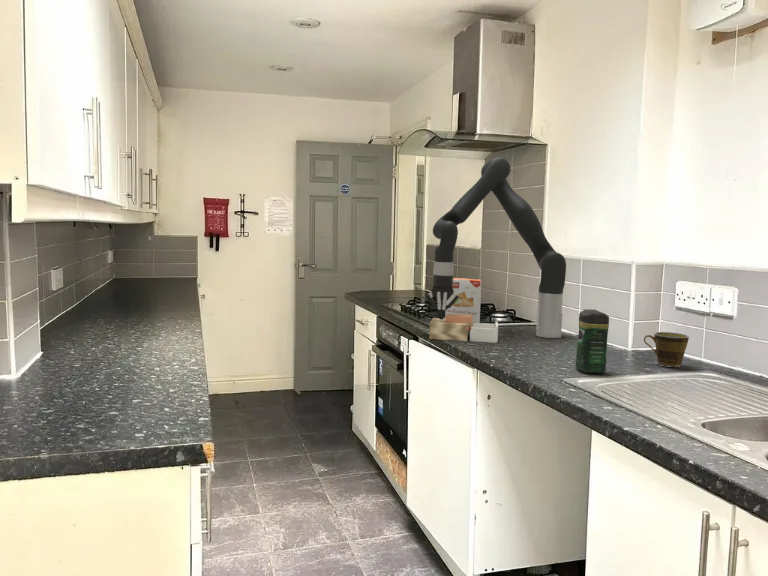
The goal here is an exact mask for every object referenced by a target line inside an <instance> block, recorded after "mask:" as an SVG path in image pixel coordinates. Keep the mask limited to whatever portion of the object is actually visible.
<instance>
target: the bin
mask: <svg viewBox="0 0 768 576" xmlns="http://www.w3.org/2000/svg"><path fill="white" fill-rule="evenodd" d="M498 335H499V322H498V321H495V323H485V322H484V323H481V322H480V323H473V327H471V331H469V342H474V343H475V342H478V343H479V342H480V343H491V344H492V343H493V344H496V343H498V341H499V340H498V339H499V338H498Z"/></svg>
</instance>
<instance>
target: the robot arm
mask: <svg viewBox="0 0 768 576" xmlns="http://www.w3.org/2000/svg"><path fill="white" fill-rule="evenodd" d="M510 172H511V165H510V162H509V160H507V159H506V158H504V157H500V156H499V157H494V158H492V159H490V160H489V161H487V162H486V163H485V164H483V166H482V167H481V170H480V178H479V179H478V180H477V181H476V183H474V184H473V185H472V187H471V188H470V189H468V190H467V191H466V192H465V193H464V194H463V195H462V196H461V197H460V198H459V199H458V201H457V202H456V203H455V204H454V205H453V206H452V207H451V209H450V210H448V211H447V212H446V213H445V214H443V215H442V216H441V217H440V218H438V220H437V221H436V222H435V224H434V225H433V228H432V235H433V236H434V237H435V238H436V239H438V240H439V246H436V247H435V250H434V261H433V262H434V263H433V264H434V265H433V271H432V274H433V276H432V288H431V289H430V290H431V291H430V292H428V293H427V294H425V297H426V299H427V301H428V302H429V304H430V305H432V307H433V308H435V309H437V318H439V319H442V320H443V319H444V318H445V313H446V309H448V308H450V307H451V306H452V305H453V304H454V303H455V301H456V300H457V299H458V298H459V296H458V295H456V294H455V293H454V290H453V278H454V250H455V247H456V244H457V240H458V235H459V230H458V229H459V228H458V225H460V224H463V223H465V222H466V221H467V220H468V219H469V217H471V215H472V214H473V212H474V211H475V210H476V209H477V208H478V206H479V205H480V204H481V203H482V201H484V199H485V198H486V197H487V196H488V195H489V194H490V193H491V192H492V194H493V195H494V197H496V199H497V200H498V202H499V204H500V206H501V207H502V208H503V210H504V212H505V213H506V215H507V216H508V218H509V220H510V221H511V223H512V225H513V227H514V229H515V230H516V231H517V232H518V234H519V236H520V237H521V239H522V240H523V241H524V242H525V243H526V244H527V245H526V246H528V247H529V249H530V251H531V252H532V254H533V257H534V259H535V261H536V263H537V265H538V267H539V269H540V270H541V271H540V272H541V273H540V282H539V285H538V295H537V312H536V313H537V316H536V326H535V327H536V328H535V331H536V332H535V333H536V334H535V335H536V336H537V337H540V338H547V339H560V338H562V326H563V297H564V294H563V293H564V288H565V283H566V276H567V275H566V273H567V261H566V258H565V257H564V255H563V254H561V253H560V252H557V251H556V250H555V249H554V247H553V246H552V245H551V243H550V242H549V240H548V239H547V237H546V235H545V233H544V230H543V227H542V224H541V222H540V220H539V218H538V216H537V214H536V213H535V211H534V209H533V208H532V207H531V205H530V204H529V203H528V202H527V201H526V200H525V198H523V197H522V196H520V195H519V193H517V192H516V191H515V190H514V189H513V188H512V187H511V185H510V183H509V182H508V180H507V178H508V176H509V175H510ZM452 295H453V297H452V299H453V300H452V301H451V302H450V303H449V304H448V305H446V302H447V300H448V299H449V298H450V297H451V296H452ZM433 297H434V299H436V302H435V300H434V299H433Z"/></svg>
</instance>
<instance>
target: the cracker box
mask: <svg viewBox="0 0 768 576" xmlns="http://www.w3.org/2000/svg"><path fill="white" fill-rule="evenodd" d="M482 281H483V280H482V279H475V278H463V277H462V278H461V277H453V290H454V293H455V294H456V295H458V296H459V298H458V299H457V300H456V301H455V303H454V304H453V305H452V306H451V307H450V308H448V309H446V313H445V318H443V319H446V314H460V315H473V322H472V324H469V327H468V332H470V331H471V327H473V323H481V322H480V320H481V319H480V317H481V303H482V302H481V300H482V299H481V298H482ZM452 297H453V295H452V296H451V297H450V298H449V299H448V300H447V302H446V305H448V304H449V303H450V302H451V301H452V300H453V299H452Z"/></svg>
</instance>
